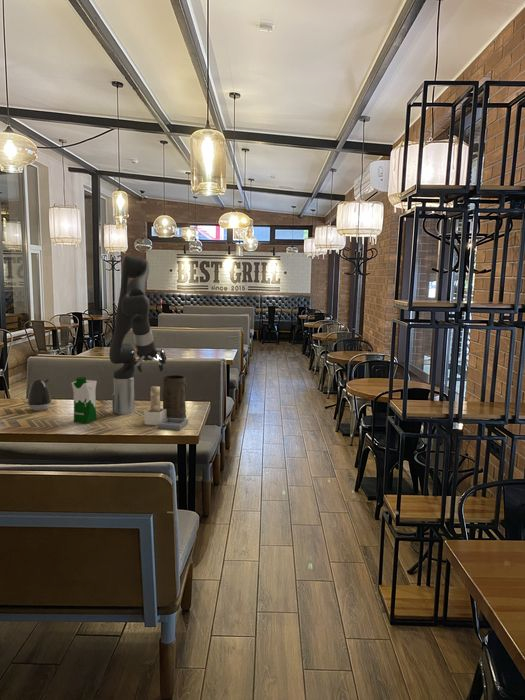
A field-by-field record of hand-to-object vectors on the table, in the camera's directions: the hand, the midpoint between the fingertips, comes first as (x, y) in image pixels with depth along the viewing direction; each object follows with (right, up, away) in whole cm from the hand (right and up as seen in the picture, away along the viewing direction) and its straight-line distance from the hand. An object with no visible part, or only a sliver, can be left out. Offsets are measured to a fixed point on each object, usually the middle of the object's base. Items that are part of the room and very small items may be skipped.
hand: (151, 370), depth 205 cm
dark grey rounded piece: (-60, -20, +28) cm, 69 cm away
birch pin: (0, -23, +9) cm, 25 cm away
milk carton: (-32, -23, +11) cm, 41 cm away
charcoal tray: (+9, -25, +4) cm, 26 cm away
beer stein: (+7, -23, +20) cm, 31 cm away
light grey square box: (0, -24, +9) cm, 25 cm away
